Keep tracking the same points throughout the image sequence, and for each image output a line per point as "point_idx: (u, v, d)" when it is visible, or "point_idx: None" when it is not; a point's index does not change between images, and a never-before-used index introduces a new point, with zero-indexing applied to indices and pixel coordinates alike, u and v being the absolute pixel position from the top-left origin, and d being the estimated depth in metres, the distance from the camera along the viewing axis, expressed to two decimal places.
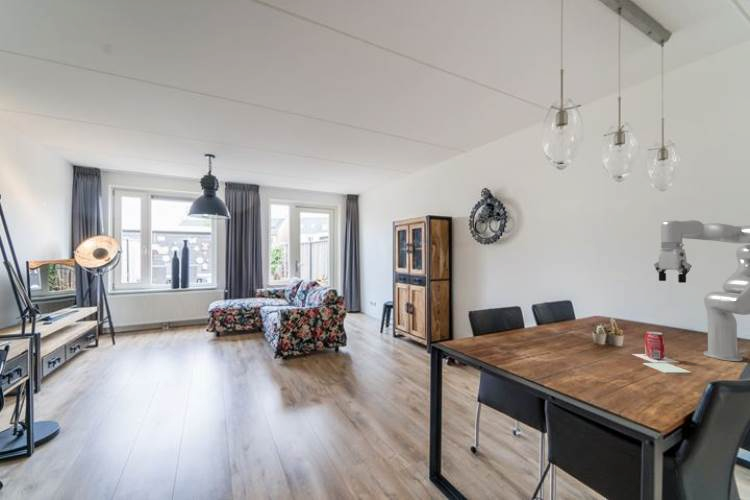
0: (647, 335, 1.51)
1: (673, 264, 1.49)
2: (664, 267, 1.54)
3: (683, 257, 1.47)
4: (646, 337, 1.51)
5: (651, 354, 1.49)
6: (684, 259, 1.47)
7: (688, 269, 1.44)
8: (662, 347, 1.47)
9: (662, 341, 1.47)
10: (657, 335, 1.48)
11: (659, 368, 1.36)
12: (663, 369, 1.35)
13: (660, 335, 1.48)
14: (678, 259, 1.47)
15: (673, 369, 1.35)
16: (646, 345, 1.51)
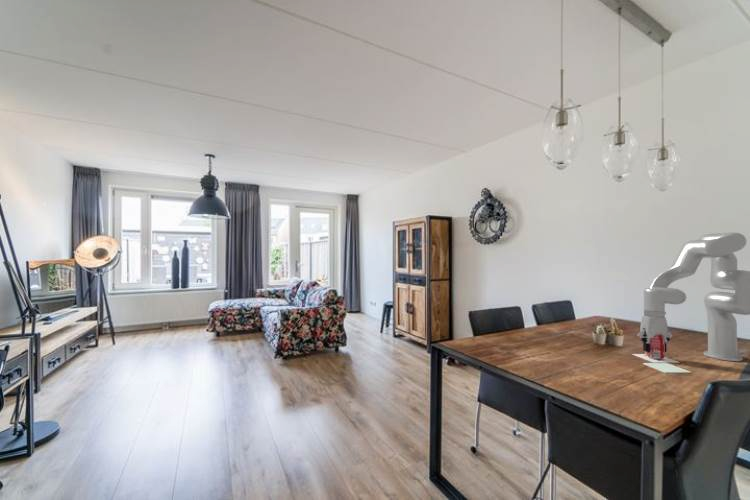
0: None
1: (664, 333, 1.48)
2: None
3: None
4: None
5: (651, 354, 1.49)
6: None
7: None
8: (662, 347, 1.47)
9: (662, 341, 1.47)
10: (657, 335, 1.48)
11: (659, 368, 1.36)
12: (663, 369, 1.35)
13: (660, 335, 1.48)
14: None
15: (673, 369, 1.35)
16: None
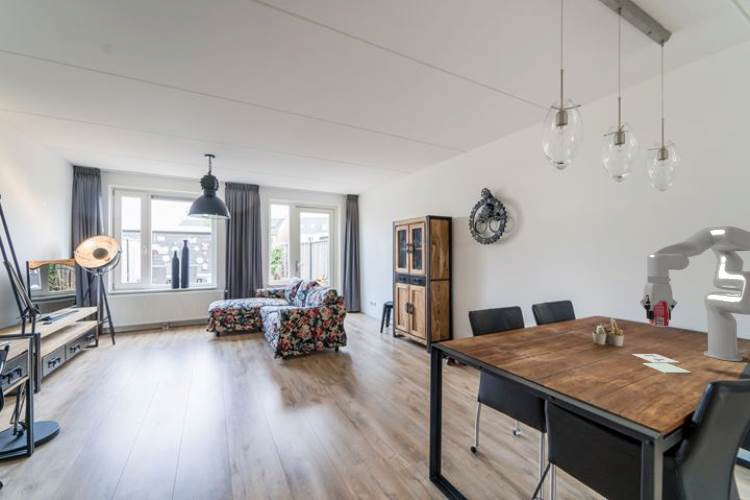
0: None
1: (669, 300, 1.43)
2: None
3: None
4: None
5: (654, 322, 1.43)
6: None
7: None
8: (666, 314, 1.41)
9: (666, 308, 1.42)
10: (661, 302, 1.42)
11: (659, 368, 1.36)
12: (663, 369, 1.35)
13: (664, 302, 1.42)
14: None
15: (673, 369, 1.35)
16: None
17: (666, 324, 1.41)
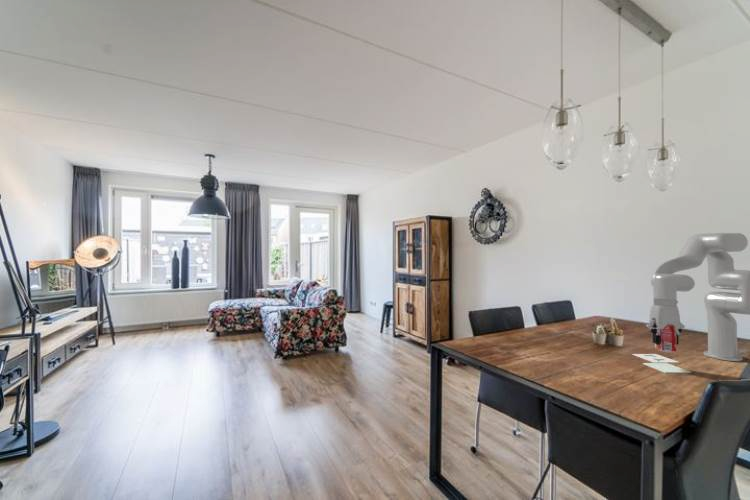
0: None
1: (676, 324, 1.35)
2: None
3: None
4: None
5: (661, 347, 1.36)
6: None
7: None
8: (674, 339, 1.34)
9: (674, 332, 1.34)
10: (668, 326, 1.35)
11: (659, 368, 1.36)
12: (663, 369, 1.35)
13: (671, 326, 1.35)
14: None
15: (673, 369, 1.35)
16: None
17: (674, 349, 1.34)
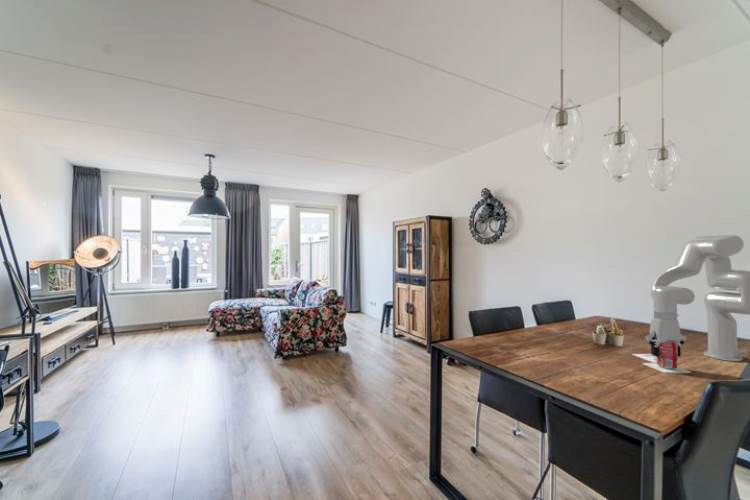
0: None
1: (677, 337, 1.35)
2: None
3: None
4: None
5: (662, 364, 1.36)
6: None
7: None
8: (675, 356, 1.34)
9: (675, 349, 1.34)
10: (670, 343, 1.35)
11: (659, 368, 1.36)
12: (663, 369, 1.35)
13: (673, 343, 1.34)
14: None
15: (673, 369, 1.35)
16: None
17: (675, 366, 1.34)
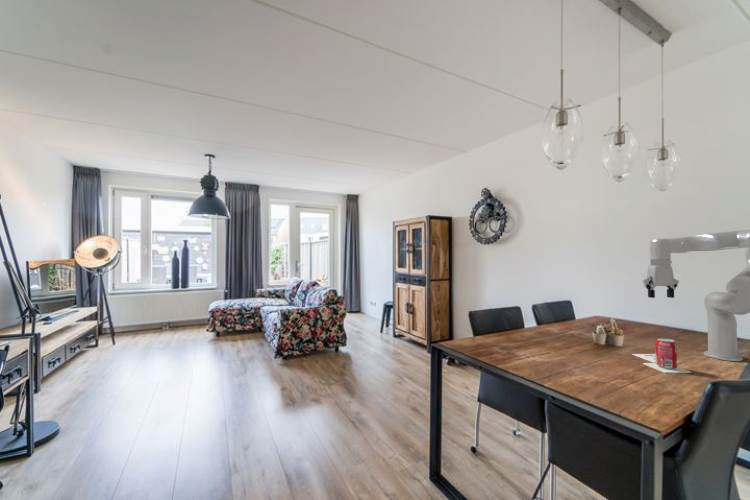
0: (658, 342, 1.38)
1: (670, 281, 1.55)
2: (661, 284, 1.55)
3: None
4: (656, 345, 1.38)
5: (662, 364, 1.36)
6: None
7: None
8: (674, 356, 1.34)
9: (674, 349, 1.34)
10: (669, 343, 1.35)
11: (659, 368, 1.36)
12: (663, 369, 1.35)
13: (672, 343, 1.35)
14: None
15: (673, 369, 1.35)
16: (656, 354, 1.38)
17: (674, 366, 1.34)
